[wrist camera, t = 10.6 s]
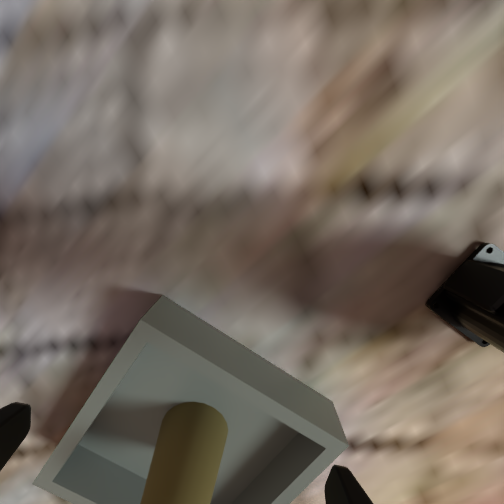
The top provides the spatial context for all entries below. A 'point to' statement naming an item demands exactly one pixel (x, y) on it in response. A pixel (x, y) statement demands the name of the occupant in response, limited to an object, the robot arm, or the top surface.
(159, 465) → the olive gourd-shaped piece
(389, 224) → the top surface
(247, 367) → the tray
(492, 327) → the robot arm
